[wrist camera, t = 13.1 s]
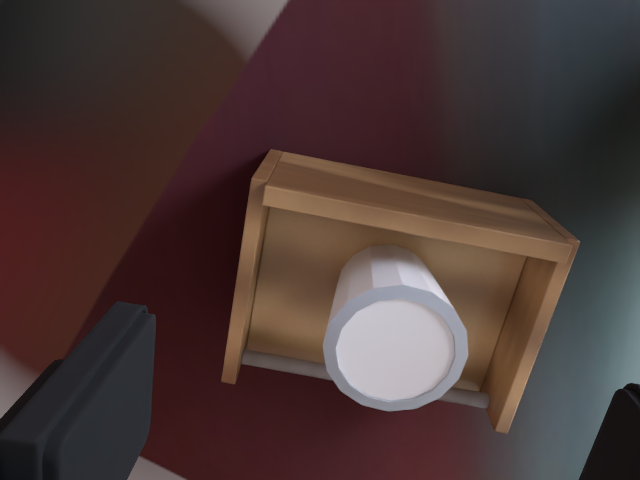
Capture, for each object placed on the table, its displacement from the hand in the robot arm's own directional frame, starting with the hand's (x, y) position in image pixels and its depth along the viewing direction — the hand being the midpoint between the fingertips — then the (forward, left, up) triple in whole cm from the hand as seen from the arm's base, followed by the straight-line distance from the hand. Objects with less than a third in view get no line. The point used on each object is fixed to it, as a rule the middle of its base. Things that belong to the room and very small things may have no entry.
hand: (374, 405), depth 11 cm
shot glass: (-3, +6, -20) cm, 22 cm away
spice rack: (-3, +7, -24) cm, 25 cm away
